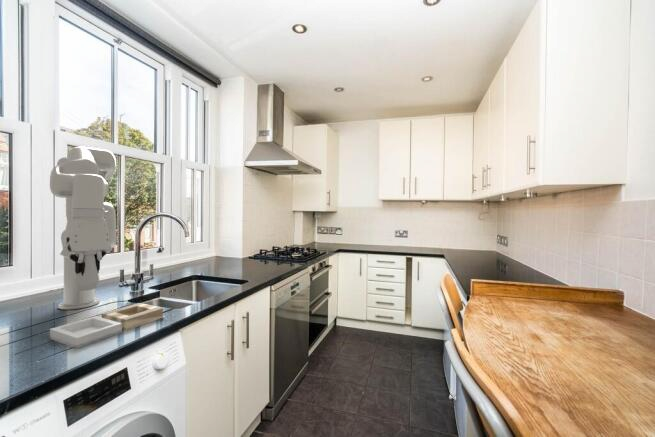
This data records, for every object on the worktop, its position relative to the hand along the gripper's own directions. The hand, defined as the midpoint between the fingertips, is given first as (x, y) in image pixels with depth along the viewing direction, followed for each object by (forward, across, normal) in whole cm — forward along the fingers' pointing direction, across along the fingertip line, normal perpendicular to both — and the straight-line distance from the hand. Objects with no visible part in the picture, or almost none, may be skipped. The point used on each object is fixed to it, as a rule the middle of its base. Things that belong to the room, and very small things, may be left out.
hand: (87, 273), depth 88 cm
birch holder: (+19, -14, 0) cm, 24 cm away
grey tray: (+19, 0, 0) cm, 19 cm away
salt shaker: (+5, 0, 0) cm, 5 cm away
